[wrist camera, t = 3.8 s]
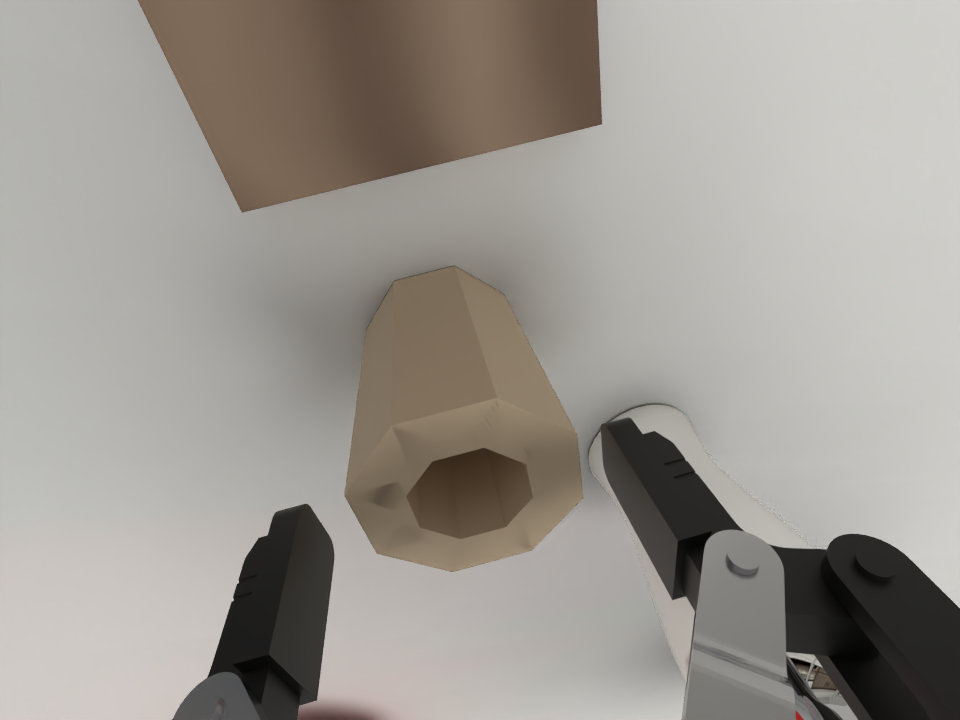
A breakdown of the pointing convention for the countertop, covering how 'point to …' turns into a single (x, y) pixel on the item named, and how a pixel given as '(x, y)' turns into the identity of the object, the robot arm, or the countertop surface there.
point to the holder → (374, 83)
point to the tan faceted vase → (456, 429)
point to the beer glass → (815, 694)
